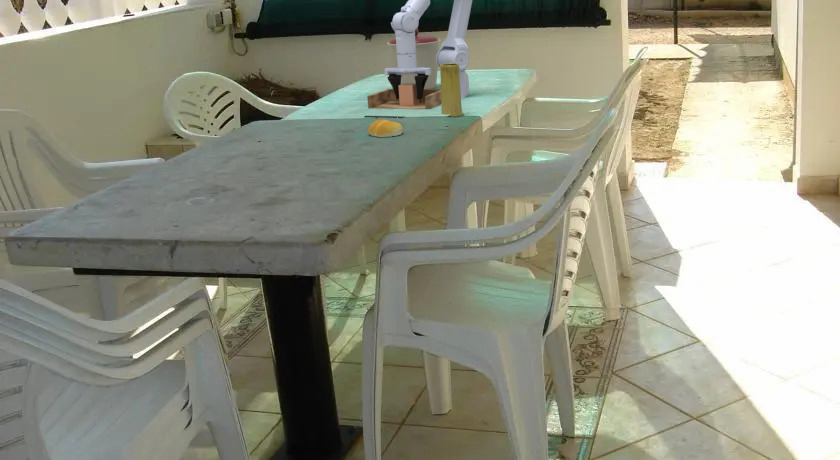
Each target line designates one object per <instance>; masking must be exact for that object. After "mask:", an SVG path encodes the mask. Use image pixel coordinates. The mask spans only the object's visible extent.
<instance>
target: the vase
mask: <svg viewBox="0 0 840 460" xmlns="http://www.w3.org/2000/svg"><path fill="white" fill-rule="evenodd" d="M439 68H440V72H439V73H440V89H441V115H448V116H446V118H456V117H457V118H458V117H461V116H463V114H464V112H463V109H462V98H461V92H460V77H459V64H457V63H448V64H441V65H440V67H439Z"/></svg>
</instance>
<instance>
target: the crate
mask: <svg viewBox="0 0 840 460" xmlns="http://www.w3.org/2000/svg"><path fill="white" fill-rule="evenodd" d="M366 99H367V108H368V109H374V110H375V109H380V110H381V109H386V110H390V109H391V110H394V109H395V110H432V109H433V108H436V107H438V106H440V105H441V88H434V89H424V90H423V96H422V99H419V103H418V104H416V105H413V106H411V105H400V102H399V99H396V96H395V93H394V90H393V88H386V89H383V90H381V91H377V92H374V93H371V94H369V95H367V98H366ZM441 106H442V105H441Z"/></svg>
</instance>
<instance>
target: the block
mask: <svg viewBox="0 0 840 460" xmlns="http://www.w3.org/2000/svg"><path fill="white" fill-rule="evenodd" d="M398 86H399V102H400V105H411V106H413V105H416V104H418V103H419V99H417V87H416V83H404V84H401V85H398Z"/></svg>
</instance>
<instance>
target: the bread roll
mask: <svg viewBox="0 0 840 460" xmlns="http://www.w3.org/2000/svg"><path fill="white" fill-rule="evenodd" d="M403 130H404V128H403V126H402V125H401V124H400V123H399V122H396V121H390V120H388V119H385V118H382V119H381V118H380V119H377V120H375V121H373V122H372V123H371V124H370V125H369V127H368V129H367V131H368V133H369V135H370V136H371V137H375V138H381V137H382V138H393V137H392V136H395V137H398V135H399V136H401V135H402V134H403V132H404V131H403Z"/></svg>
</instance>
